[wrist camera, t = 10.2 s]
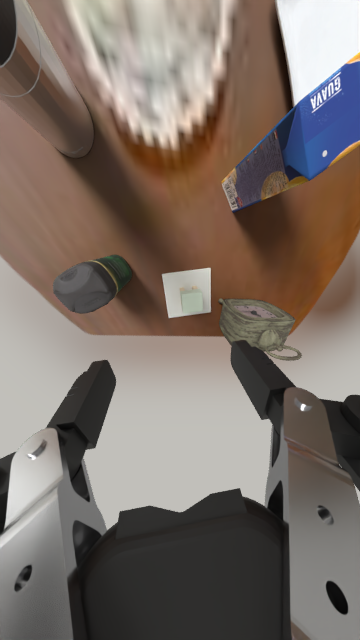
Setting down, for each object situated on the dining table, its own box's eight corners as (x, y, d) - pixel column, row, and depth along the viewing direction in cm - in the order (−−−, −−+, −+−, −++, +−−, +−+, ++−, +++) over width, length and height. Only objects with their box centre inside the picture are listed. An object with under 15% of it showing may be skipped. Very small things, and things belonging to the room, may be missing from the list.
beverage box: (273, 182, 35) (413, 107, 15) (232, 213, 37) (309, 180, 17) (265, 146, 32) (424, -2, 12) (220, 182, 34) (298, 102, 14)
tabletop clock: (257, 296, 48) (337, 341, 26) (250, 320, 52) (313, 377, 30) (215, 294, 46) (262, 341, 24) (210, 320, 51) (247, 379, 29)
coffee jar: (119, 249, 38) (86, 254, 22) (136, 277, 42) (120, 299, 25) (88, 267, 39) (35, 285, 23) (108, 292, 43) (74, 324, 26)
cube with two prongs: (178, 287, 44) (181, 294, 38) (196, 284, 44) (202, 291, 38) (180, 304, 46) (183, 313, 40) (197, 301, 46) (202, 310, 40)
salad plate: (289, 157, 33) (302, 149, 30) (260, 1, 24) (274, -33, 21) (391, 80, 29) (417, 61, 26) (403, -141, 20) (446, -209, 17)
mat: (161, 273, 42) (161, 274, 41) (210, 267, 42) (210, 268, 42) (168, 317, 48) (168, 318, 48) (210, 311, 49) (210, 312, 49)
